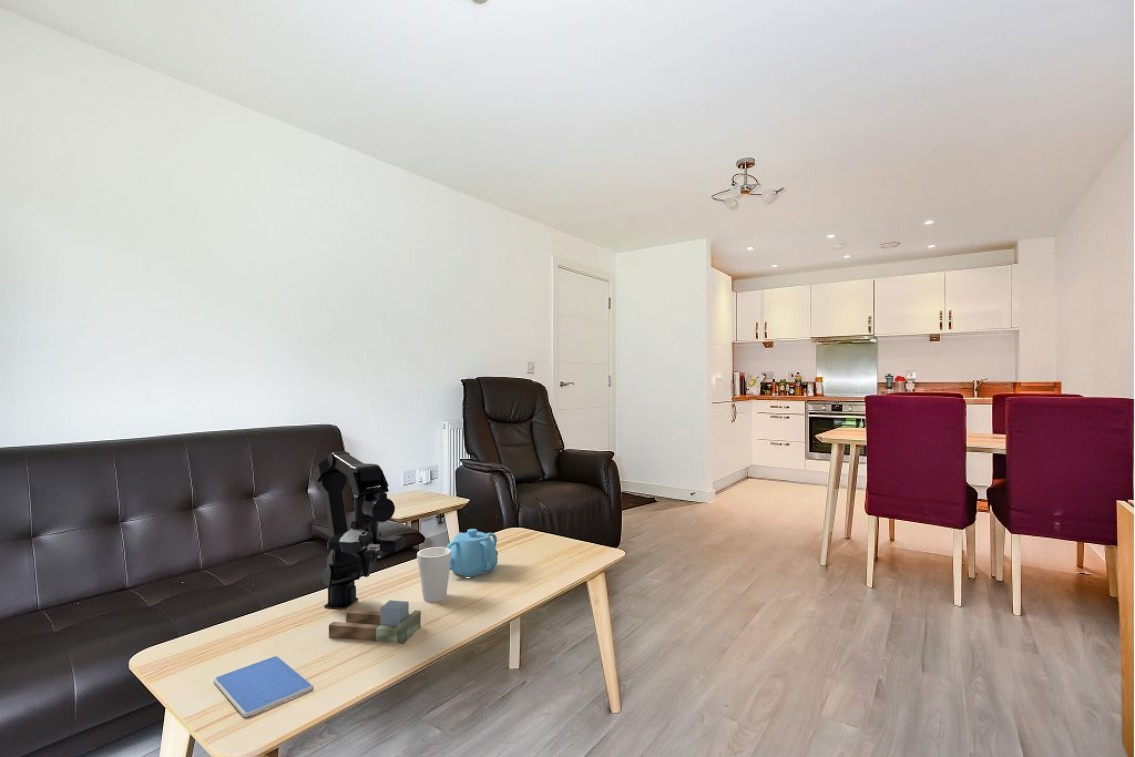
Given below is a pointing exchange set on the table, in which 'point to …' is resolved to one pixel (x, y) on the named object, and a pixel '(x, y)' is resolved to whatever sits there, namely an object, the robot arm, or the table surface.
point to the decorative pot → (473, 553)
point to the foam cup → (434, 572)
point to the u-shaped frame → (374, 627)
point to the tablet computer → (262, 685)
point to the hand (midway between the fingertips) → (366, 576)
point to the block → (394, 613)
